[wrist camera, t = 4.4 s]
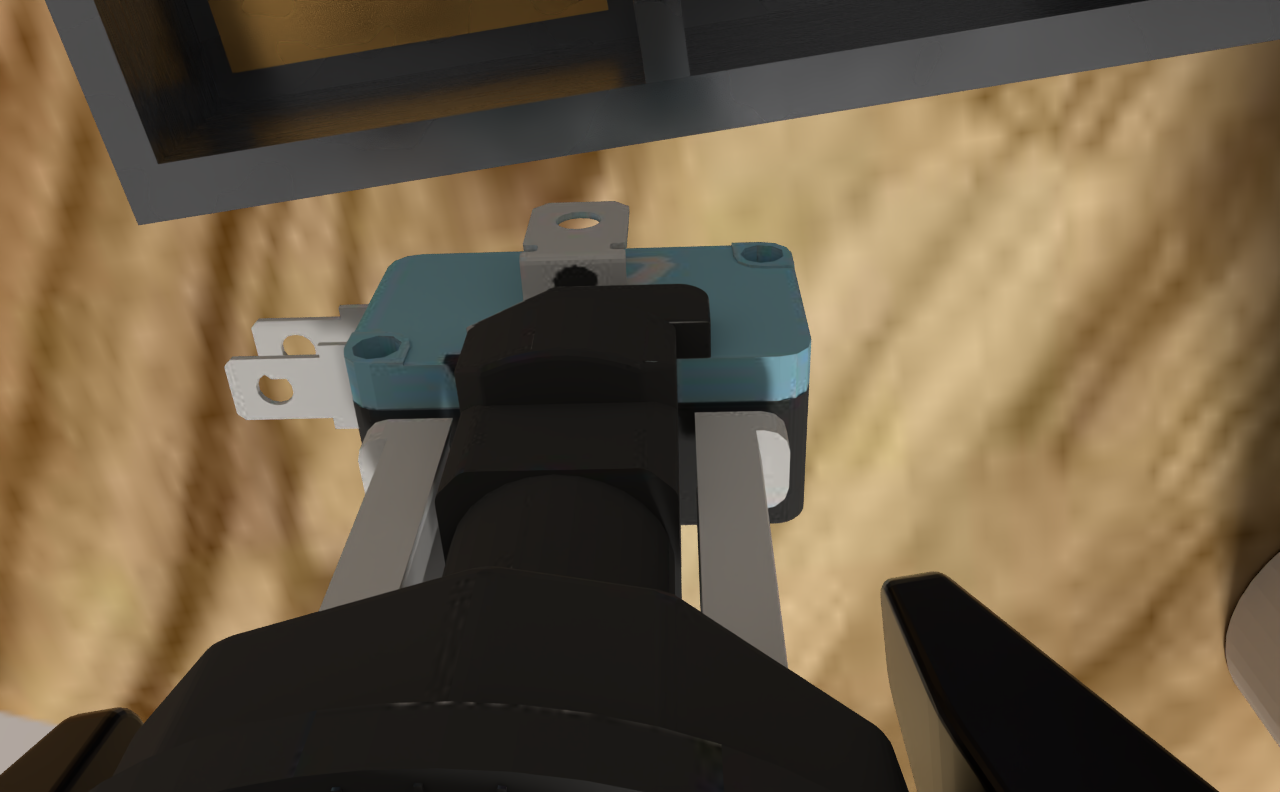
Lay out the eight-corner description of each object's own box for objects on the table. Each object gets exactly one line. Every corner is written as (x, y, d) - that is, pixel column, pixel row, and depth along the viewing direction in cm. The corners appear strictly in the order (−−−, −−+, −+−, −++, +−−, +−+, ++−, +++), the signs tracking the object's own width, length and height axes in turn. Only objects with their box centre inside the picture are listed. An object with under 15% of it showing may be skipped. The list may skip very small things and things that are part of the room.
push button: (314, 494, 15) (-171, 1540, 6) (219, 106, 12) (-900, 1041, 3) (804, 485, 14) (1002, 1567, 6) (824, 86, 12) (1251, 1041, 3)
